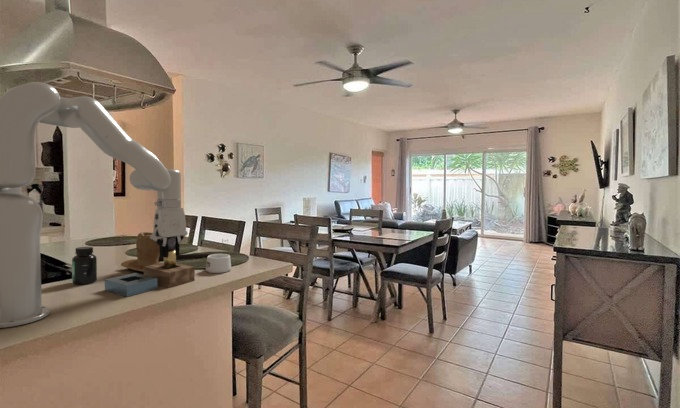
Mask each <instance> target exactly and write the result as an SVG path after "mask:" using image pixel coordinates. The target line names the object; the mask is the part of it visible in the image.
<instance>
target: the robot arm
mask: <svg viewBox="0 0 680 408" xmlns="http://www.w3.org/2000/svg"><path fill="white" fill-rule="evenodd" d="M58 91H59V90H57V89H56V88H55V87H54V86H52V85H51V84H48V83H45V82H40V81H31V82H27V83H24V84H20V85H17V86H14V87H11V88H9V89H7V90H6V91H5V93H4V94H3V95H1V96H0V328H1V329H2V328H11V327H17V326H18V327H19V326H22V325H27V324H30V323H34V322H36V321H40V320H42V319H44V318H46V317H47V316H48V315H49V314H50V312H51V311H50V307H48V306H46V305H43V304H42V299H43V298H42V267H41V266H42V263H41V262H42V261H41V260H42V259H41V234H42V228H43V222H44V213H43V209H42V207H41V204H39V202H37V201H36V200H35V199H34V198H32V197H30V196H28V195H26V194H23V192H22V191H23V190H22V188H23V187H26V186H27V185H30V184H31V183H32V182H33V181H34V179H35V177H36V173H37V170H36V169H37V167H36V152H35V151H36V150H35V138H36V137H35V135H36V130H37V126H38V125H39V124H40V123H41V124H46V125H51V126H56V127H57V126H58V127H63V128H69V129H70V128H71V129H78V128H80V129H81V130H82V132H84V133H85V134H86V136H87V137H89V139H90V140H92V142H93V143H94V144H95V145H96V146H97V147H98V148H99V149H100V150H101V151H102V152H103V153H104V154H105V155H107V156H108V157H111V158H113V159H115V160H118V161H121V162H123V163H125V164H127V165H129V167H132V168H133V169H134V170H133V171H131V173H130V175H129V182H130V184H131V186H132V187H133V188H136V189H137V190H141V191H155V192H157V195H156V196H157V198H156V201H155V202H154V206H156V208H155V212H154V217H153V226H152V227H153V229H152V230H153V232H151V233H152V235H151V237H150V239H151V240H153V241H155V242H156V243H157V244H158V245H159V246H160V257H165V258H166V257H167V246H166V241H167V238H168V237H175V236H176V255H179V254H180V251H181V250H180V247H181V246H180V245H181V244H182V240H184V238H185V237H186V236H187V235H188V231H187V224H186V221H187V220H186V214H185V210H184V208H183V207H182V174H181V171H180V170H179V169H173V168H172V169H171V168H166V166H165V165H164V163H163V162H162V161H161V160H160V159H159V158H158V156H156V155H155V154H154V153H153V152H151V150H149V149H147V148H146V147H145V146H143V145H142V144H141V143H139V142H138V141H136V140H135V139H134V138H131V136H129V135H128V134H127V132H126V131H125V130H124V129H123V127H121V126H120V125H119V123H118V122H117V121H116V119H115V118H114V117H113V116H112V115H111V114H110V113H109V111H108V110H107V109H106V108H105V107H104V105H102V104H101V102H99V101H98V100H97V99H96V98H93V97H90V96H87V95H82V96H75V97H65V96H64V97H63V96H61V95H60V93H59V92H58ZM157 237H159V239H158V238H157Z"/></svg>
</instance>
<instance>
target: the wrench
mask: <svg viewBox="0 0 680 408" xmlns="http://www.w3.org/2000/svg"><path fill="white" fill-rule="evenodd" d="M212 254H213V253H188V254H187V253H185V254H183V253H182V254H180V253H179V255H176V261H182V260H183V261H184V260H194V259H193V258H195V259H201V258H200V257H205V258H207V257H206V256H209V255H212ZM158 262H159V263H164V257H160V256H159V259H158Z"/></svg>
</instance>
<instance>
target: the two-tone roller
mask: <svg viewBox="0 0 680 408" xmlns="http://www.w3.org/2000/svg"><path fill="white" fill-rule="evenodd" d="M166 246H167V257H166V258H165V257H164V261H163V263H164V268H166V269H169V268H175V267H176V263H177V260H176V236H175V237H168V238H167V241H166Z"/></svg>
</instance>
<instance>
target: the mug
mask: <svg viewBox="0 0 680 408" xmlns="http://www.w3.org/2000/svg"><path fill="white" fill-rule="evenodd" d="M211 254H212V255H209V256H207V257H206V263H205V271H206V272H207V273H209V274H224V273H227V272H230V271H231V270H232V263H231V261H232V260H231V255H230V254H229V253H228V254H227V253H211Z"/></svg>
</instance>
